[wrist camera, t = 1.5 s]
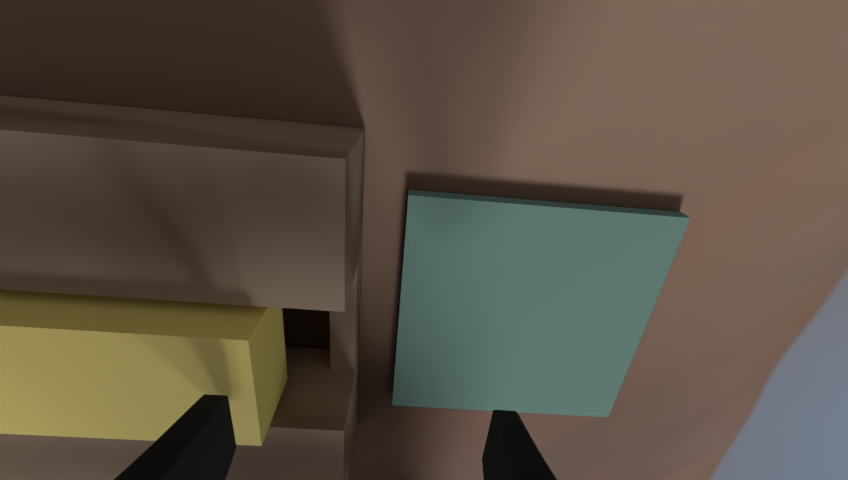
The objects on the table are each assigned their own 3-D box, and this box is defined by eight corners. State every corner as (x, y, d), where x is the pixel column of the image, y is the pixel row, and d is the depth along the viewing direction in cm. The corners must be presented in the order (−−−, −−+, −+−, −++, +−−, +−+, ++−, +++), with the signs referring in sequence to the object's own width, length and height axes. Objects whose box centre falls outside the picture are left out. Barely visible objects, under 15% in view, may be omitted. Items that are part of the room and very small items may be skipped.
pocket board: (357, 423, 19) (343, 510, 16) (89, 410, 19) (11, 496, 15) (364, 128, 13) (345, 159, 10) (-32, 92, 13) (-211, 111, 9)
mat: (602, 406, 19) (608, 416, 19) (392, 395, 19) (391, 405, 18) (680, 211, 15) (690, 218, 14) (408, 189, 14) (408, 195, 14)
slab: (287, 378, 15) (261, 446, 13) (65, 366, 15) (-7, 433, 12) (280, 284, 13) (248, 340, 11) (27, 267, 13) (-68, 321, 10)
